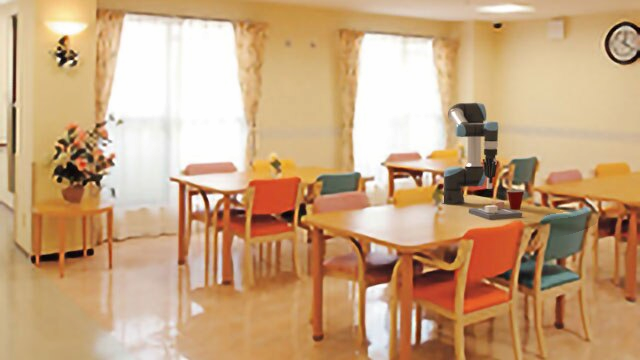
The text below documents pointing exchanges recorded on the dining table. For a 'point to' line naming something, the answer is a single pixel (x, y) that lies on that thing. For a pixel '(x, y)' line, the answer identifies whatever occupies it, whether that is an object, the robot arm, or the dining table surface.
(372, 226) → the dining table surface
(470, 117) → the robot arm
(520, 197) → the plastic cup
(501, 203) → the fader
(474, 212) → the slider panel
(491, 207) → the fader
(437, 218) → the dining table surface
